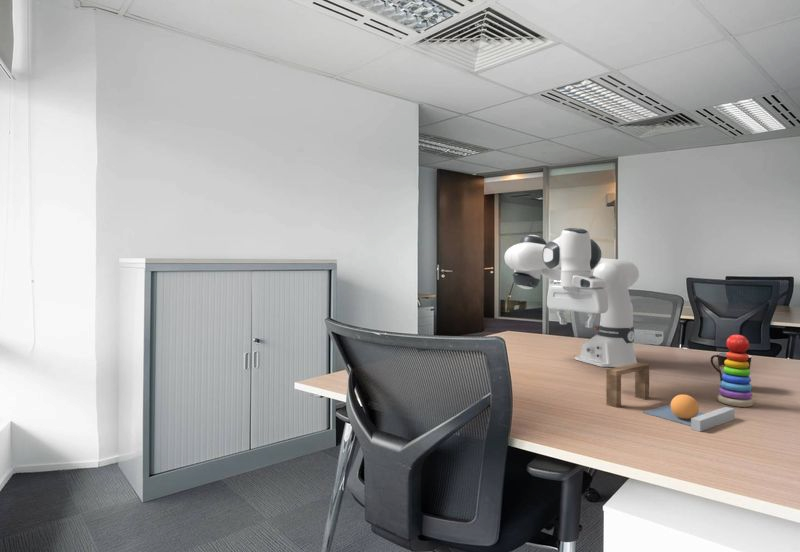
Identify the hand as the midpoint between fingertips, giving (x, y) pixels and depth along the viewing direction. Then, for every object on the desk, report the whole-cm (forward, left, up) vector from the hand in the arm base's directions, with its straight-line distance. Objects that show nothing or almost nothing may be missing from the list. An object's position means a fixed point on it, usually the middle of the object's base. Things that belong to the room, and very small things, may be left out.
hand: (575, 325), depth 148 cm
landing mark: (+31, 0, -19) cm, 37 cm away
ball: (+34, -2, -16) cm, 38 cm away
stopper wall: (+39, 0, -19) cm, 44 cm away
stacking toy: (+34, +22, -19) cm, 45 cm away
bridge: (+17, 0, -19) cm, 26 cm away
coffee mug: (+25, +40, -19) cm, 51 cm away
